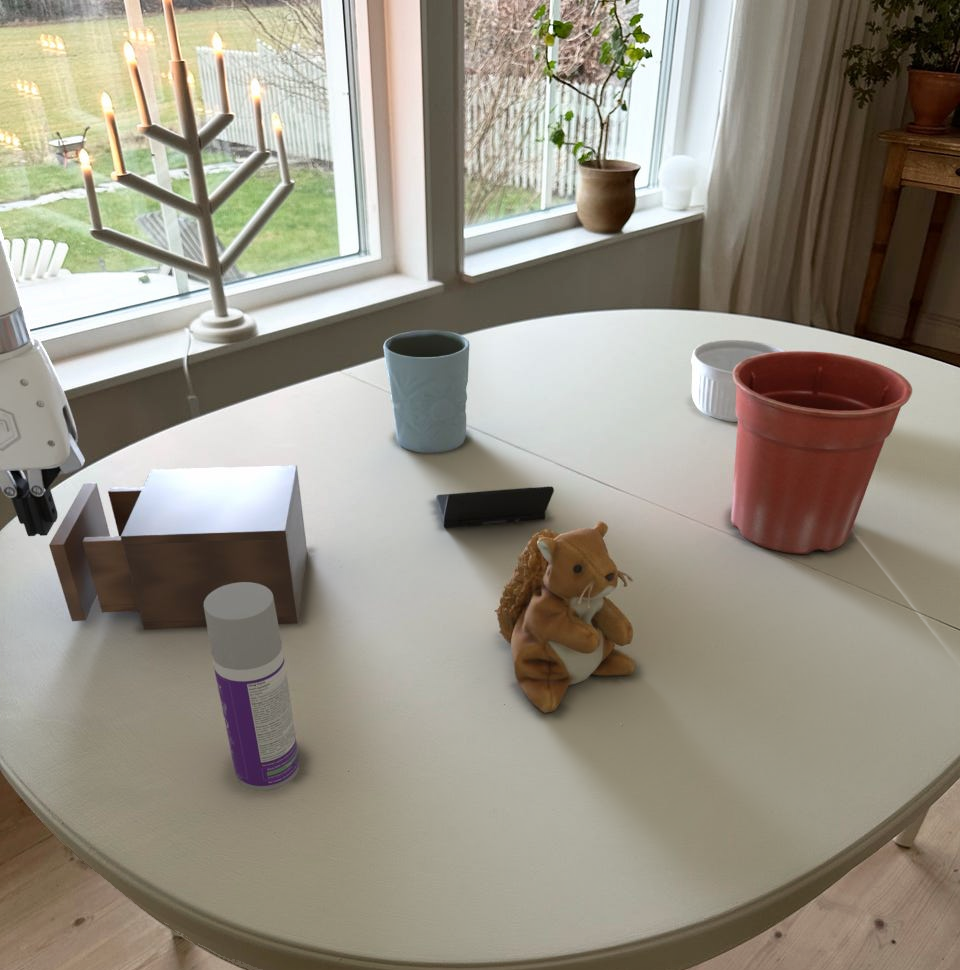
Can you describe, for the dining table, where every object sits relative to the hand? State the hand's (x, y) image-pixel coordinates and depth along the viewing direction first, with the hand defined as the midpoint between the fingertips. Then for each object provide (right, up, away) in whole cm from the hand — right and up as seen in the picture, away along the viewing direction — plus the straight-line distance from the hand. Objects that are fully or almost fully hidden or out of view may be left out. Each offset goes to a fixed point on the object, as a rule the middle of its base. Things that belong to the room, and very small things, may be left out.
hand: (42, 528), depth 89 cm
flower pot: (+73, +1, +12) cm, 74 cm away
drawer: (+10, -5, +1) cm, 11 cm away
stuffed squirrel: (+47, -12, -7) cm, 49 cm away
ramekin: (+75, +20, +38) cm, 86 cm away
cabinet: (+17, -6, +2) cm, 18 cm away
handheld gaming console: (+42, +2, +13) cm, 44 cm away
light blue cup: (+34, +14, +30) cm, 48 cm away
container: (+25, -20, -18) cm, 37 cm away
